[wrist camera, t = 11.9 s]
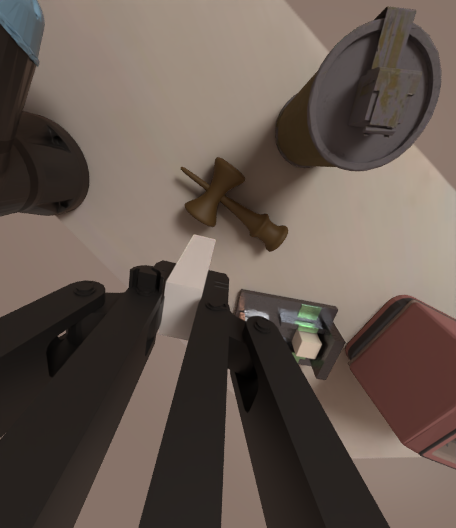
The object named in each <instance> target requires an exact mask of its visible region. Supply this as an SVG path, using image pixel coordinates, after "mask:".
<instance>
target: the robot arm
mask: <svg viewBox="0 0 456 528" xmlns="http://www.w3.org/2000/svg"><path fill="white" fill-rule="evenodd" d="M44 25H45V24H44V16H43V13H42V10H41V7H40V5H39V3H38V1H37V0H0V216H4V215H8V214H12V213H17V212H20V213H29V214H37V215H46V216H50V215H58V214H62V213H65V212H69V211H71V210H73V209H75V208H76V207H78V206H79V205H80V204H81V203H82V202H83V200H84V199H85V197H86V194H87V192H88V188H89V171H88V166H87V163H86V160H85V157H84V155H83V153H82V151H81V149H80V147H79V146H78V144H77V143H76V142H75V140H74V139H73V138H72V137H71V136H70V134H69V133H68V132H67V131H66V130H64V129H63V128H62V127H61V126H59V125H58V124H57V123H55V122H53V121H52V120H50V119H48V118H45V117H43V116H39V115H35V114H31V113H27V112H22V111H23V108H24V104H25V101H26V98H27V95H28V91H29V88H30V85H31V81H32V78H33V75H34V72H35V68H36V66H39V59H38V55H39V50H40V45H41V40H42V36H43V31H44ZM215 241H216V239H212V238H207V237H203V236H199V235H195V234H194V235H193V236H192V238H191V240H190V241H189V243H188V245H187V247H186V248H185V250H184V252H183V254H182V255H181V257H180V259H179V260H178V262H177V263H172V262H168V261H160V262H158V263H156V264H155V266H154V267H153V266H147V265H144V266H136V267H133V268H132V269H130V278H129V288H128V289H127V290H126V292H124V293H105V287H104V285H102V284H100V283H99V282H95V281H79V282H75V283H72V284H69V285H68V286H66V287H63V288H61V289H59V290H57V291H55V292H53V293H51V294H48V295H46V296H44V297H42V298H40V299H38V300H36V301H34V302H32V303H30V304H28V305H25V306H23V307H21V308H19V309H17V310H15V311H13V312H11V313H9V314H7V315H5V316H3V317H1V318H0V437H2V436H3V435H4V434H5V433H6V434H5V435H4V436H3V437H2V438H1V439H0V528H73V527H74V525H75V523H76V520H77V518H78V516H79V514H80V511H81V509H82V507H83V505H84V502H85V500H86V498H87V495H88V493H89V491H90V489H91V486H92V484H93V482H94V480H95V477H96V475H97V473H98V471H99V468H100V466H101V464H102V462H103V459H104V457H105V455H106V452H107V450H108V448H109V446H110V443H111V441H112V439H113V437H114V434H115V432H116V430H117V428H118V425H119V423H120V421H121V418H122V416H123V414H124V411H125V409H126V407H127V405H128V403H129V400H130V398H131V396H132V393H133V391H134V389H135V387H136V384H137V382H138V380H139V378H140V376H141V373H142V371H143V369H144V366H145V364H146V362H147V360H148V357H149V355H150V353H151V351H152V348H153V346H154V344H155V338H156V333H157V331H158V329H159V334H160V335H165V336H169V337H174V338H179V339H184V340H189V341H188V344H187V348H186V352H185V356H184V359H183V363H182V367H181V371H180V374H179V378H178V382H177V386H176V390H175V393H174V397H173V400H172V404H171V408H170V412H169V415H168V419H167V423H166V427H165V430H164V434H163V438H162V442H161V446H160V449H159V453H158V457H157V460H156V464H155V468H154V472H153V475H152V479H151V483H150V487H149V490H148V494H147V498H146V501H145V505H144V509H143V513H142V516H141V520H140V524H139V528H221V513H222V489H223V488H222V487H223V465H224V441H225V440H224V439H225V417H226V392H227V369H230V375H231V379H232V383H233V387H234V392H235V396H236V400H237V404H238V408H239V413H240V417H241V421H242V425H243V429H244V433H245V438H246V442H247V446H248V450H249V454H250V458H251V463H252V466H253V471H254V475H255V479H256V484H257V488H258V492H259V496H260V500H261V504H262V509H263V513H264V517H265V521H266V525H267V528H390V527H389V525H388V523H387V521H386V520H385V518H384V516H383V515H382V512H381V511H380V509H379V507H378V505H377V504H376V502H375V500H374V498H373V496H372V495H371V493H370V491H369V490H368V488H367V486H366V484H365V482H364V481H363V479H362V477H361V475H360V473H359V472H358V470H357V468H356V466H355V464H354V463H353V461H352V459H351V457H350V456H349V454H348V452H347V450H346V448H345V447H344V445H343V443H342V441H341V440H340V438H339V436H338V434H337V432H336V431H335V429H334V427H333V425H332V424H331V422H330V420H329V418H328V416H327V415H326V413H325V411H324V409H323V408H322V406H321V404H320V402H319V400H318V399H317V397H316V395H315V393H314V392H313V390H312V388H311V386H310V384H309V383H308V381H307V379H306V377H305V375H304V374H303V372H302V370H301V368H300V367H299V365H298V363H297V361H296V359H295V358H294V356H293V354H292V352H291V351H290V349H289V347H288V345H287V343H286V342H285V340H284V338H283V336H282V335H281V333H280V331H279V329H278V327H277V326H276V325H275V324H274V323H273V322H272V321H270V320H269V319H267V318H264V317H261V316H251V317H249V318H248V319H247V321H245V320H242V319H240V318H238V317H236V316H235V315H234V314H232V312H231V311H230V307H229V305H228V292H229V278H228V277H227V275H226V274H224V273H219V272H215V271H210V270H209V267H210V263H211V259H212V254H213V250H214V245H215ZM65 330H66V333H65V334H64V335H62V336H60V337H58V335H59V334H61V333H62V332H64V331H65Z"/></svg>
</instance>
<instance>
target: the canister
mask: <svg viewBox="0 0 456 528" xmlns="http://www.w3.org/2000/svg"><path fill="white" fill-rule="evenodd" d="M415 14H416V10H413V9H404V8H395V7H386V8H385V9H384V10H383V11H382V12H381V14H379V15H378V16H377V17H376V18H375V20H373V21H370V22H368V23H365V24H363V25H361V26H359V27H357V28H356V29H355V30H353V31H352V32H350V33H349V34H348V35H346V36H345V37H344V38H343V39H342V40H341V41H340V42H339V43H337V45H335V47H334V48H333V49H332V50H331V51H330V53H329V54H328V55H327V56H326V58H325V60H324V61H323V63H322V64H321V66H320V68H319V70H318V71H317V72H316V73H315V75H314V76H313V77H312V78H311V79H310V80H309V81H308V82H307V84H306V85H305V86H304V87H303V88H302V89H301V90H300V91H299V93H297V94H296V95H294V96H293V97H292V98H291V99H290V100H289V101H288V102H287V103H286V105H285V106H284V107H283V109H282V111H281V113H280V115H279V118H278V120H277V125H276V142H277V146H278V148H279V150H280V153H281V155H282V156H283V157H284V158H285V159H286V160H287V161H288V162H289V163H291V164H293V165H294V166H297V167H303V168H309V167H314V166H323V167H338V168H340V169H344V170H349V171H366V170H371V169H374V168H378V167H381V166H383V165H385V164H388V163H389V162H391V161H393V160H394V159H396V158H398V157H399V156H400V155H401V154H403V153H404V152H405V151H406V150H407V149H408V148H410V147H411V146H412V144H413V143H414V142H415V141H416V139H417V138H418V137H419V136H420V135H421V133H422V132H423V130H424V129H425V127H426V125H427V124H428V122H429V120H430V119H431V117H432V115H433V112H434V109H435V107H436V104H437V101H438V97H439V93H440V87H441V66H440V59H439V53H438V51H437V49H436V47H435V45H434V43H433V41H432V40H431V38H430V36H429V35H428V34H427V33H426V32H425V31H424V30H423V29H422V28H421V27H419V26H418V25H416V24H414V23H413V21H414V17H415Z"/></svg>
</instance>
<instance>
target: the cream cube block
mask: <svg viewBox="0 0 456 528" xmlns="http://www.w3.org/2000/svg"><path fill="white" fill-rule="evenodd" d="M292 345H293V348H294V351H295V354H296V356H299V357H305V358H311V359H315V358H316V356H317V354H318V352H319V350H320V348H321V346H322V343H321V341H320V339H319V337H318V335H317V334H316V333H311V332H305V331H299V330H297V329H296V332H295V334H294V337H293V339H292Z"/></svg>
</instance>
